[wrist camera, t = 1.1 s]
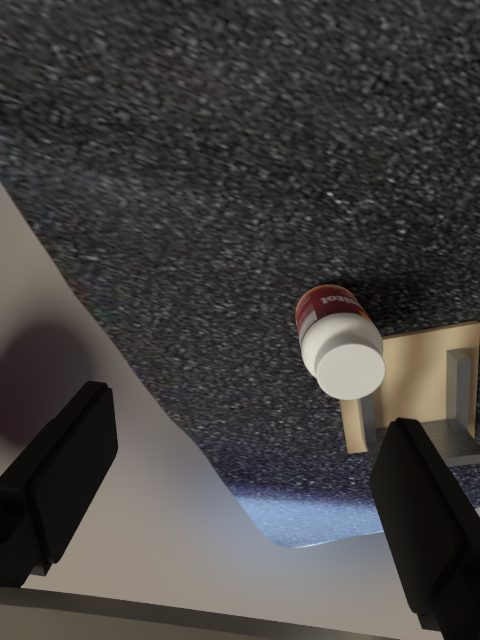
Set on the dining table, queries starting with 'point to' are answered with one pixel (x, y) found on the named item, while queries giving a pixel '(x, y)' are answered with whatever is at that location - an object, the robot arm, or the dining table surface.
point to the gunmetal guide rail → (443, 433)
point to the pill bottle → (339, 342)
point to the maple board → (416, 379)
